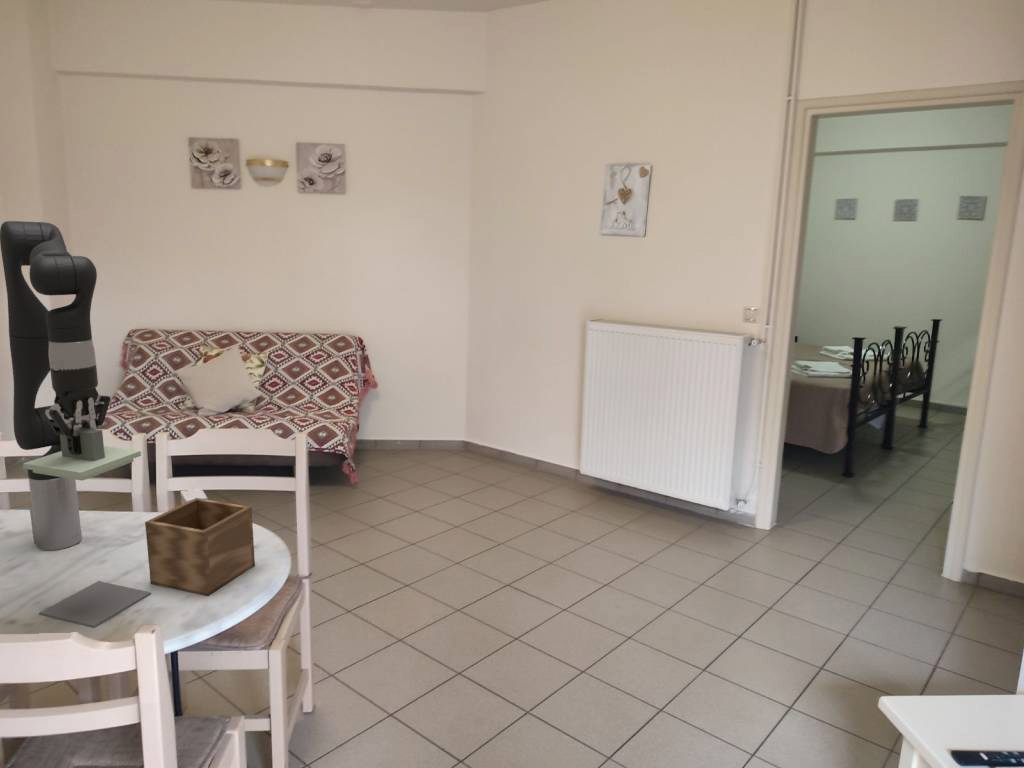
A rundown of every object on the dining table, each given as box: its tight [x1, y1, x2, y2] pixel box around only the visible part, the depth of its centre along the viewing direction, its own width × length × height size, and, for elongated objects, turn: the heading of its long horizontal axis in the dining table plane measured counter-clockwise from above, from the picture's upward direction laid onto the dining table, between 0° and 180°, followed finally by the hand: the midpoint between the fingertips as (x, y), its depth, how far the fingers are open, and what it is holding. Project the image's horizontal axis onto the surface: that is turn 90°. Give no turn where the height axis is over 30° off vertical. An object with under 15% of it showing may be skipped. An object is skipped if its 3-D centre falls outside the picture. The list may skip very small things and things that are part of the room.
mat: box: [38, 580, 152, 629], centre depth 150 cm, size 14×14×1 cm
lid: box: [22, 426, 142, 481], centre depth 144 cm, size 14×14×8 cm
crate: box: [144, 498, 256, 597], centre depth 162 cm, size 15×15×14 cm
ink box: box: [180, 487, 209, 505], centre depth 179 cm, size 9×5×12 cm, turn 33°
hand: (82, 451), depth 144 cm, fingers closed on lid, 2 cm apart
